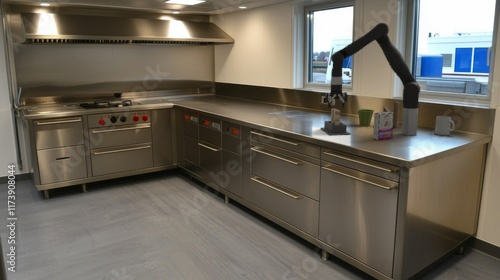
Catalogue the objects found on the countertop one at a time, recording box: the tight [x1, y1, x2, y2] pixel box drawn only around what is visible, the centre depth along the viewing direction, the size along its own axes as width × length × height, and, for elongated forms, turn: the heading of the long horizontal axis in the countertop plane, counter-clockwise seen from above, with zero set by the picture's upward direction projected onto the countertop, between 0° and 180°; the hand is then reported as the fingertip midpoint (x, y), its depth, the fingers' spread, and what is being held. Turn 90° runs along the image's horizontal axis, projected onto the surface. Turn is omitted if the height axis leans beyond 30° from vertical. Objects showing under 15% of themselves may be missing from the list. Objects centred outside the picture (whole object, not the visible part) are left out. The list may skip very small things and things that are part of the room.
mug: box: [434, 115, 456, 136], centre depth 254 cm, size 12×8×11 cm
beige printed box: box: [330, 108, 341, 125], centre depth 264 cm, size 10×3×14 cm, turn 5°
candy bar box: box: [372, 111, 394, 141], centre depth 242 cm, size 11×5×16 cm, turn 114°
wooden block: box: [382, 101, 400, 129], centre depth 280 cm, size 4×11×18 cm, turn 44°
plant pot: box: [357, 108, 375, 127], centre depth 286 cm, size 12×12×11 cm
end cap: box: [320, 120, 352, 136], centre depth 266 cm, size 22×14×6 cm, turn 5°
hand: (335, 108), depth 263 cm, fingers open, 8 cm apart
